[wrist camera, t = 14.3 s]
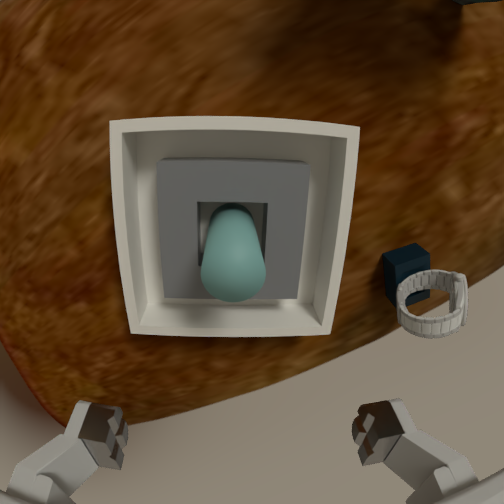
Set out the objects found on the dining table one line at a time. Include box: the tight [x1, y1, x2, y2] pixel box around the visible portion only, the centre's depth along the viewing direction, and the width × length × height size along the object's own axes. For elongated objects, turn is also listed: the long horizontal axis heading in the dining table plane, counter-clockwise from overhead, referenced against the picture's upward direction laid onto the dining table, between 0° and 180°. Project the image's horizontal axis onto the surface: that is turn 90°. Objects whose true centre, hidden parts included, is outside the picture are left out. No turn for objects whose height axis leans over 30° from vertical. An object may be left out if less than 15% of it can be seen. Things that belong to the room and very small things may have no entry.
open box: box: [110, 116, 360, 337], centre depth 27 cm, size 19×19×5 cm
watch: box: [382, 243, 468, 339], centre depth 28 cm, size 6×8×11 cm
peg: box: [201, 203, 266, 302], centre depth 24 cm, size 4×4×10 cm
